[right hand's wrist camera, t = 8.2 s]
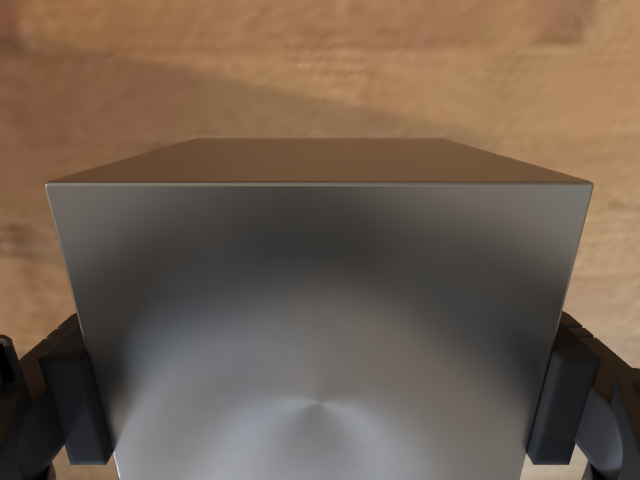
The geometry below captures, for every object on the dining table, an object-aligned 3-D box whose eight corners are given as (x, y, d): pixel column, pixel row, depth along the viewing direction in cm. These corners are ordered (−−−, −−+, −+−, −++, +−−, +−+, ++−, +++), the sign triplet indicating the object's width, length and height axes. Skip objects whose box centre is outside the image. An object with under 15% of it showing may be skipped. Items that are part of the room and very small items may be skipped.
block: (444, 138, 14) (597, 182, 6) (421, 349, 17) (503, 549, 9) (194, 138, 14) (40, 181, 6) (218, 349, 17) (135, 549, 9)
